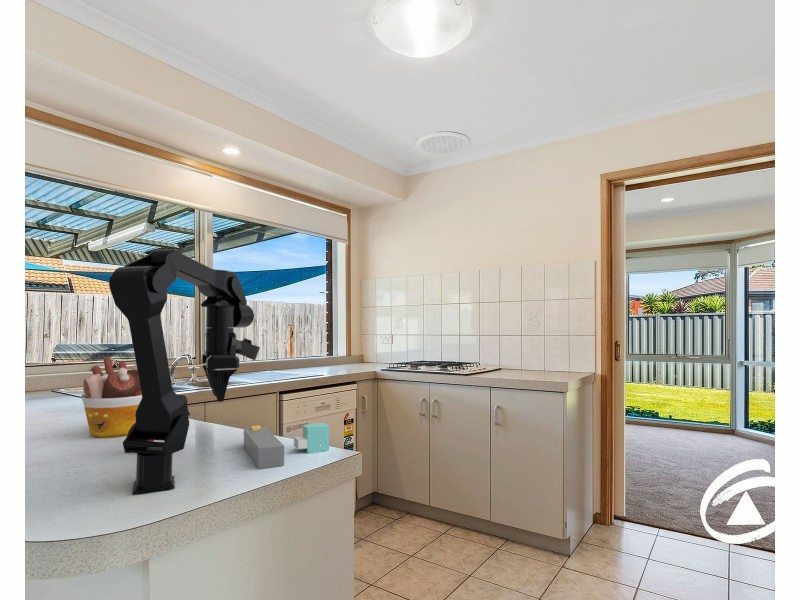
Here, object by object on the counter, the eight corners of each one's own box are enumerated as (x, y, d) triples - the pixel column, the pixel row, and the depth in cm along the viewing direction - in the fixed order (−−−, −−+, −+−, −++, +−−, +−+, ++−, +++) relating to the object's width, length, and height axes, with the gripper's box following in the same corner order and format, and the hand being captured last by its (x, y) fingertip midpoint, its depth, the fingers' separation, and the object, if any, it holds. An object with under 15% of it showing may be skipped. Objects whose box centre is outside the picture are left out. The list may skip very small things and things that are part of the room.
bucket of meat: (161, 433, 125) (163, 358, 126) (88, 445, 113) (91, 361, 114) (137, 422, 139) (139, 354, 140) (70, 432, 127) (72, 357, 128)
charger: (329, 450, 108) (329, 426, 108) (298, 454, 105) (298, 429, 105) (323, 446, 112) (323, 422, 112) (293, 450, 108) (294, 425, 109)
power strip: (284, 465, 96) (284, 442, 97) (258, 469, 94) (259, 445, 94) (262, 439, 118) (262, 420, 119) (240, 441, 116) (241, 422, 116)
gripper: (264, 327, 100) (263, 402, 100) (250, 327, 117) (249, 391, 116) (208, 328, 96) (206, 406, 95) (202, 327, 112) (200, 394, 111)
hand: (218, 398), depth 104 cm, fingers open, 9 cm apart
